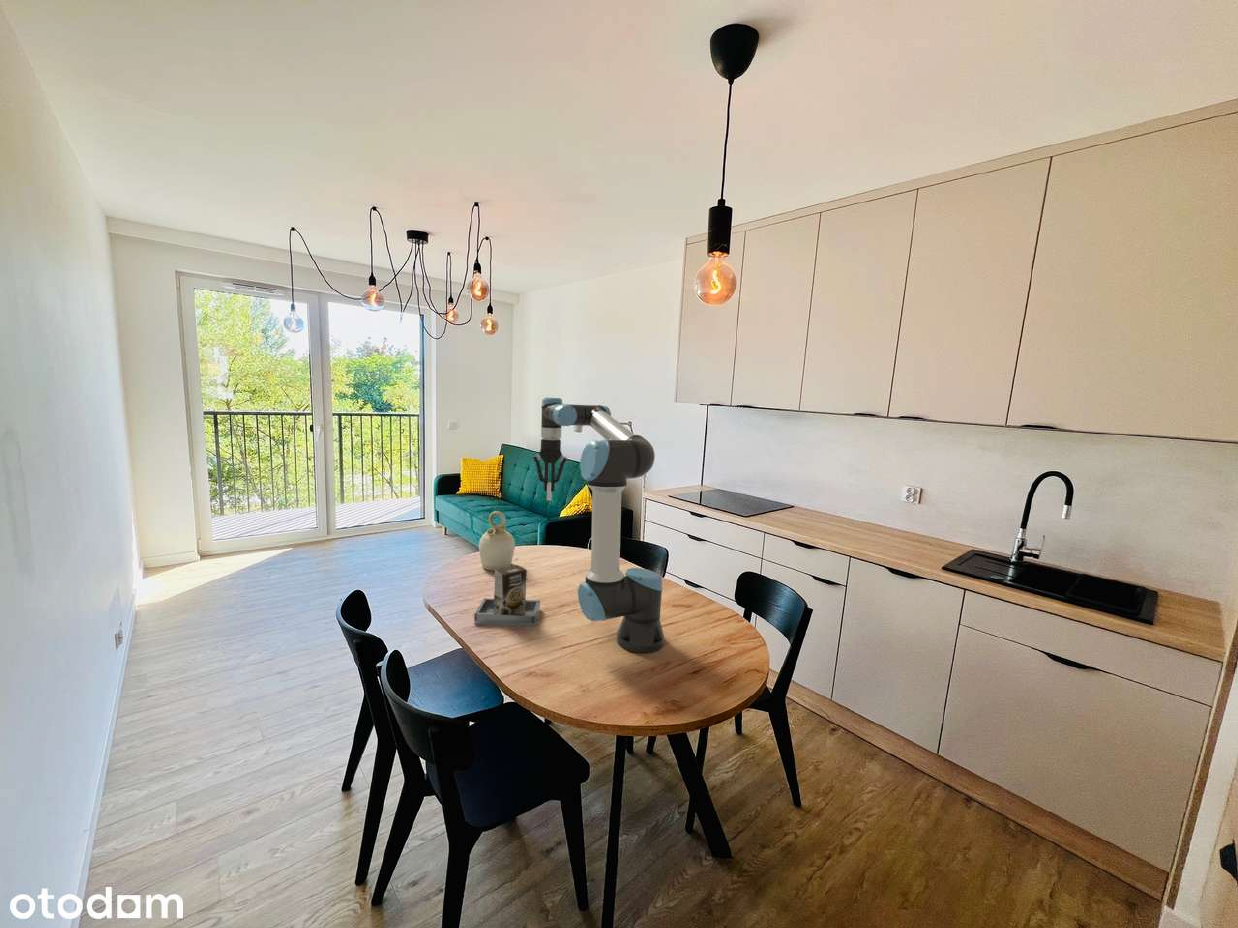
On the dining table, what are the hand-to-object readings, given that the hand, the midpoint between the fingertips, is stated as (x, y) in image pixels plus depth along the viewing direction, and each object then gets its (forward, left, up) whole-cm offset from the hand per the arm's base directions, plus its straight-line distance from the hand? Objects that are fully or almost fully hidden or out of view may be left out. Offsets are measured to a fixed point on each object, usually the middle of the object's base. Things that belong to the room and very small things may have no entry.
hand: (549, 499), depth 191 cm
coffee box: (+9, +25, -36) cm, 44 cm away
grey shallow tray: (+10, +24, -36) cm, 45 cm away
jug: (+25, -24, -37) cm, 50 cm away
